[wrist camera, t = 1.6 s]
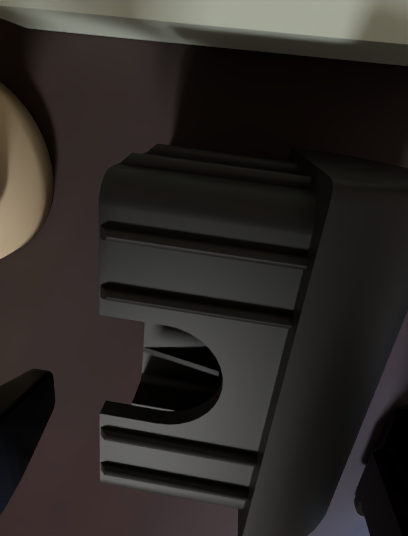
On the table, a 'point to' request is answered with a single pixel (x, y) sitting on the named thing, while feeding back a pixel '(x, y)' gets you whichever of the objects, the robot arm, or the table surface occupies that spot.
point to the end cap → (250, 323)
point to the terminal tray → (235, 24)
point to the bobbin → (21, 175)
